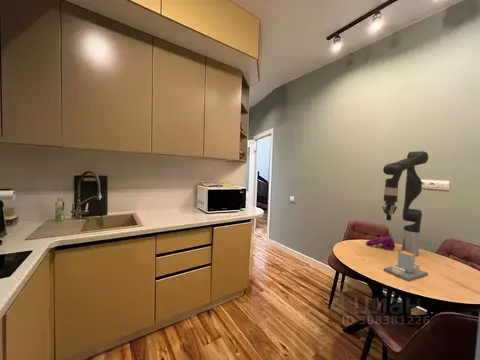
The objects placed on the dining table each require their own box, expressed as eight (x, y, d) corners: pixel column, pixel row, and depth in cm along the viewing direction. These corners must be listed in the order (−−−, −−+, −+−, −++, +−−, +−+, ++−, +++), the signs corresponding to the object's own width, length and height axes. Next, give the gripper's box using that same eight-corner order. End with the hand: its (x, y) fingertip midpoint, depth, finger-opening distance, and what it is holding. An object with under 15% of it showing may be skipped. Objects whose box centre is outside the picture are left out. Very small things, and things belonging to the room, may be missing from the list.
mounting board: (402, 266, 137) (403, 258, 137) (427, 275, 125) (428, 267, 125) (383, 270, 128) (384, 263, 128) (408, 281, 116) (409, 273, 116)
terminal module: (402, 267, 130) (403, 250, 130) (413, 272, 125) (415, 254, 124) (397, 268, 128) (398, 251, 128) (408, 273, 123) (410, 255, 122)
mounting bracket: (371, 254, 171) (396, 249, 163) (366, 244, 172) (391, 238, 164) (369, 250, 179) (394, 245, 171) (365, 241, 180) (389, 235, 173)
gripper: (390, 195, 137) (388, 222, 138) (402, 195, 143) (400, 221, 144) (378, 193, 144) (376, 219, 145) (390, 193, 150) (388, 218, 150)
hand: (388, 220), depth 144 cm, fingers closed
